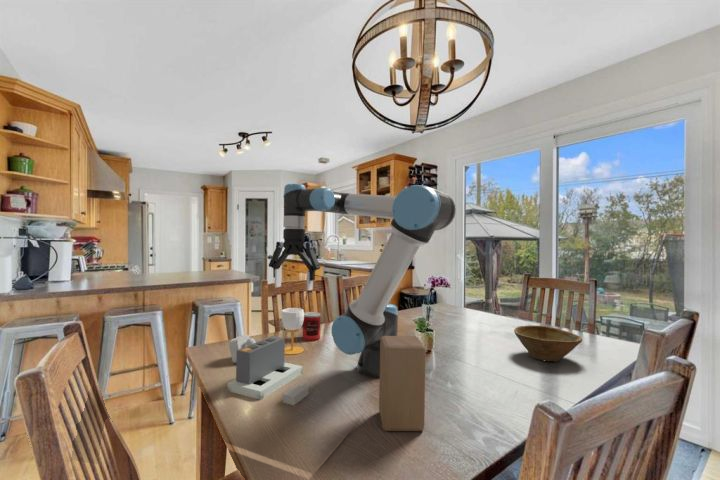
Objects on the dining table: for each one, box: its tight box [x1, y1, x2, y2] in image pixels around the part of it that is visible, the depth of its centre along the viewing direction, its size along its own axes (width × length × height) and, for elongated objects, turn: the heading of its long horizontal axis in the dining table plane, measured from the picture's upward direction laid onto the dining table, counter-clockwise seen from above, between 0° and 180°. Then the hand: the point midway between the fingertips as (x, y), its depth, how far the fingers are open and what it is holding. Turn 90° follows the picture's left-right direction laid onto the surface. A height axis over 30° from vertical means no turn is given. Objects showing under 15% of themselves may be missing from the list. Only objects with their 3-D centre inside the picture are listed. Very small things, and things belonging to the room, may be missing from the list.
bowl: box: [513, 324, 583, 362], centre depth 129 cm, size 22×23×10 cm
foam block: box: [282, 383, 310, 406], centre depth 93 cm, size 4×7×3 cm, turn 156°
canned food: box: [302, 311, 321, 342], centre depth 149 cm, size 8×8×11 cm
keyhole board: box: [227, 362, 304, 401], centre depth 103 cm, size 12×20×3 cm, turn 156°
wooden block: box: [378, 335, 427, 432], centre depth 83 cm, size 10×10×20 cm
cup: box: [280, 307, 305, 356], centre depth 133 cm, size 9×9×16 cm
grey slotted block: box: [235, 335, 286, 385], centre depth 104 cm, size 5×16×12 cm, turn 156°
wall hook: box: [228, 334, 256, 364], centre depth 121 cm, size 8×10×10 cm
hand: (293, 288), depth 119 cm, fingers open, 13 cm apart
